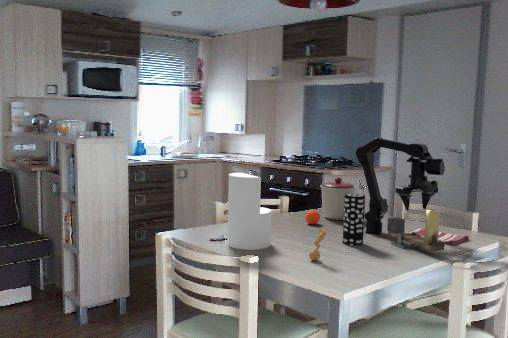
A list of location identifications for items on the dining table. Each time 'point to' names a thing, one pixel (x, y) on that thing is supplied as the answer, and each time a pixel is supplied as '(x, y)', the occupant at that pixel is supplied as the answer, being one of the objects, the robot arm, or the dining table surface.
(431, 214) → the brass weight
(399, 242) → the beam stand
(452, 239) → the dish towel
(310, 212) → the clementine
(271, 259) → the dining table surface
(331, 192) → the canister
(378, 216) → the robot arm
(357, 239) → the spotted tube
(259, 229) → the white stepped pillar
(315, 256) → the figurine
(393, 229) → the balance beam
